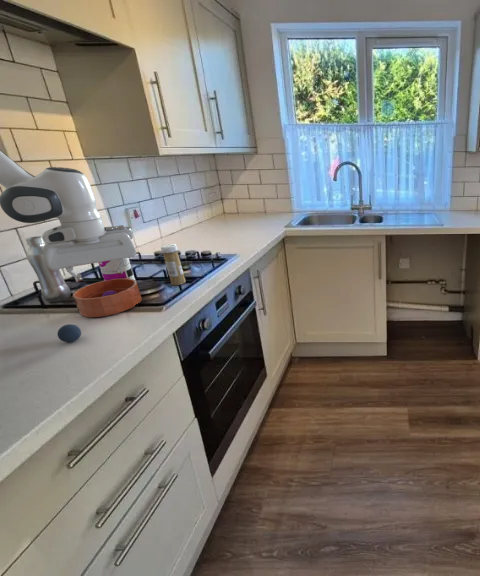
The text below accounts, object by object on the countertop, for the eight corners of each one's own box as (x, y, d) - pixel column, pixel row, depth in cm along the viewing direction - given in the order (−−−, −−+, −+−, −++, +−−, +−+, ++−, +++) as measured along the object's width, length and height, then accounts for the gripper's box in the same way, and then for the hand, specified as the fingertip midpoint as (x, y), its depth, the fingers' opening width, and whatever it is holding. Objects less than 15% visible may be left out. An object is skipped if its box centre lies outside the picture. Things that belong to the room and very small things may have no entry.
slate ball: (57, 344, 88) (50, 328, 87) (76, 335, 92) (70, 320, 90) (68, 347, 87) (61, 331, 85) (87, 338, 91) (81, 322, 89)
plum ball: (98, 305, 106) (96, 291, 105) (114, 301, 110) (112, 287, 109) (109, 308, 105) (107, 294, 103) (124, 304, 109) (122, 290, 107)
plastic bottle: (55, 296, 115) (29, 235, 107) (78, 295, 116) (54, 234, 108) (40, 305, 109) (11, 241, 101) (64, 303, 110) (37, 240, 102)
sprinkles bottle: (189, 282, 124) (179, 244, 119) (177, 286, 121) (166, 248, 115) (179, 280, 126) (170, 242, 121) (167, 284, 122) (157, 246, 117)
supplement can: (118, 290, 118) (103, 246, 112) (101, 287, 121) (85, 244, 115) (141, 281, 125) (128, 240, 119) (124, 279, 128) (111, 238, 122)
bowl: (67, 314, 103) (60, 295, 101) (119, 293, 116) (113, 276, 114) (104, 322, 98) (96, 302, 96) (153, 299, 112) (148, 281, 109)
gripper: (128, 222, 106) (141, 266, 112) (36, 233, 95) (55, 282, 100) (130, 226, 102) (143, 272, 107) (34, 238, 90) (54, 289, 96)
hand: (100, 277), depth 104 cm, fingers open, 8 cm apart
